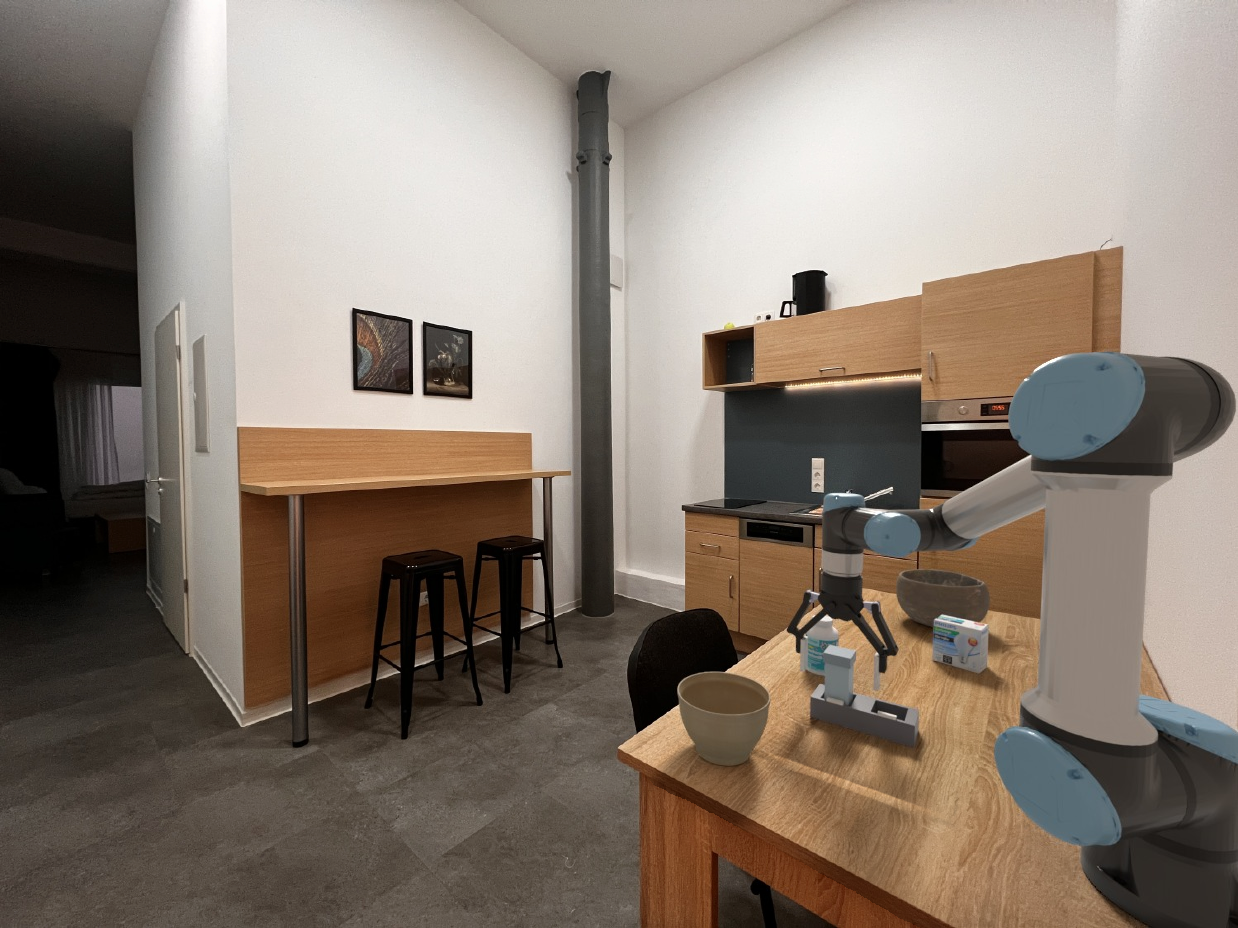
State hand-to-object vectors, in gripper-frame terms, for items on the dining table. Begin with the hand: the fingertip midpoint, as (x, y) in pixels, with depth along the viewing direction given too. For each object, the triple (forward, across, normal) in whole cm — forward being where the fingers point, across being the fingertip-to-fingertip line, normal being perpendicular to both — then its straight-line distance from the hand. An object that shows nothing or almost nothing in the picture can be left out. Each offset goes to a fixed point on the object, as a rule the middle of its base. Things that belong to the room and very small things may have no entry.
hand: (838, 678), depth 102 cm
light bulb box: (+9, -19, -48) cm, 52 cm away
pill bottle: (+9, +8, -21) cm, 24 cm away
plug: (+8, 0, 0) cm, 8 cm away
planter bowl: (+9, +14, +23) cm, 29 cm away
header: (+8, -5, 0) cm, 10 cm away
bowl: (+9, -13, -79) cm, 80 cm away
